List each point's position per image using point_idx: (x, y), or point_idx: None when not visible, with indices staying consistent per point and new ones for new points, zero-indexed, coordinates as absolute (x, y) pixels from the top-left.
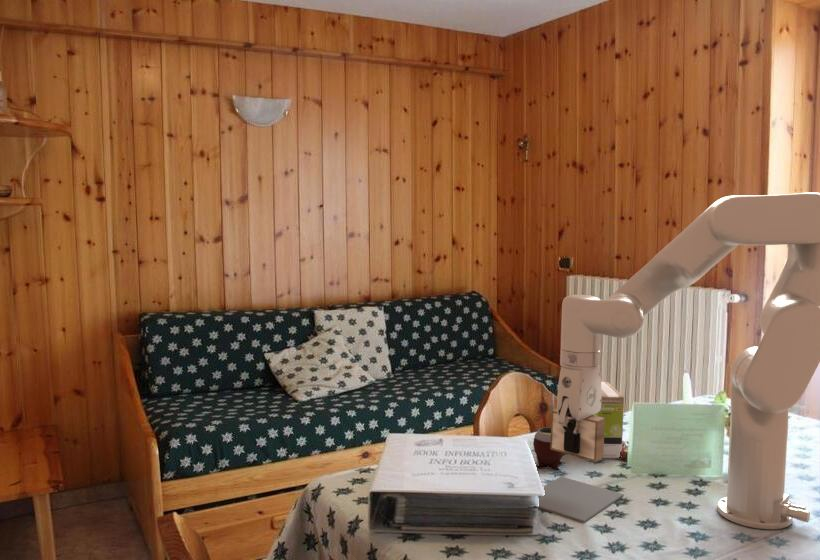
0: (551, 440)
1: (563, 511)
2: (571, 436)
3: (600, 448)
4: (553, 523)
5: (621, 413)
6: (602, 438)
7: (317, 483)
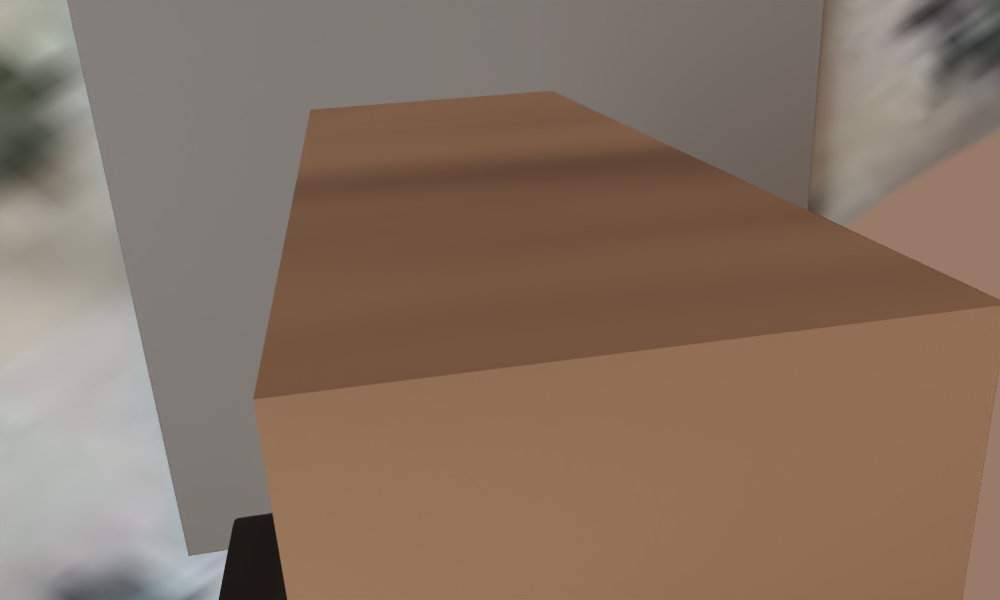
0: None
1: (774, 135)
2: None
3: (439, 128)
4: (951, 85)
5: None
6: (380, 169)
7: None
